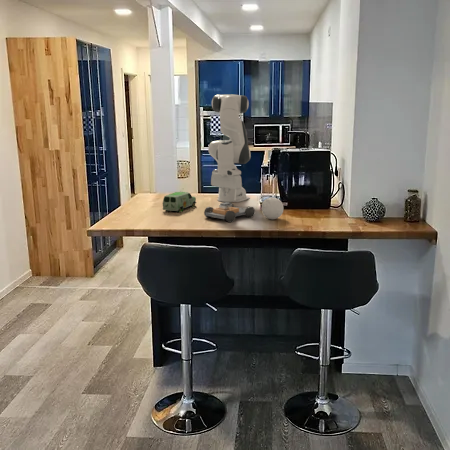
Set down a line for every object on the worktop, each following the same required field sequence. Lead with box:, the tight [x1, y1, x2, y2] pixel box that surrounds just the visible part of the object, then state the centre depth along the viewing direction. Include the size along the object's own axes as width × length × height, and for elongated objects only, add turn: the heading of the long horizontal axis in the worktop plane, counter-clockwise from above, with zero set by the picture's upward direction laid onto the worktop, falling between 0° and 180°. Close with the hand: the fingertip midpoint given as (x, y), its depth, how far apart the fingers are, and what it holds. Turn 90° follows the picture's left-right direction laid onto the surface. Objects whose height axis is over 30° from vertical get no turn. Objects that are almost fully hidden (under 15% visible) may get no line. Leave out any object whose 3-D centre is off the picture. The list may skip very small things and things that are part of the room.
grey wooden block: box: [218, 202, 232, 211], centre depth 281 cm, size 6×4×5 cm
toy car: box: [162, 191, 197, 213], centre depth 307 cm, size 11×25×10 cm, turn 156°
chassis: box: [203, 202, 256, 223], centre depth 284 cm, size 24×18×6 cm
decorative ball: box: [261, 197, 284, 220], centre depth 279 cm, size 12×12×12 cm
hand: (225, 195), depth 279 cm, fingers closed
